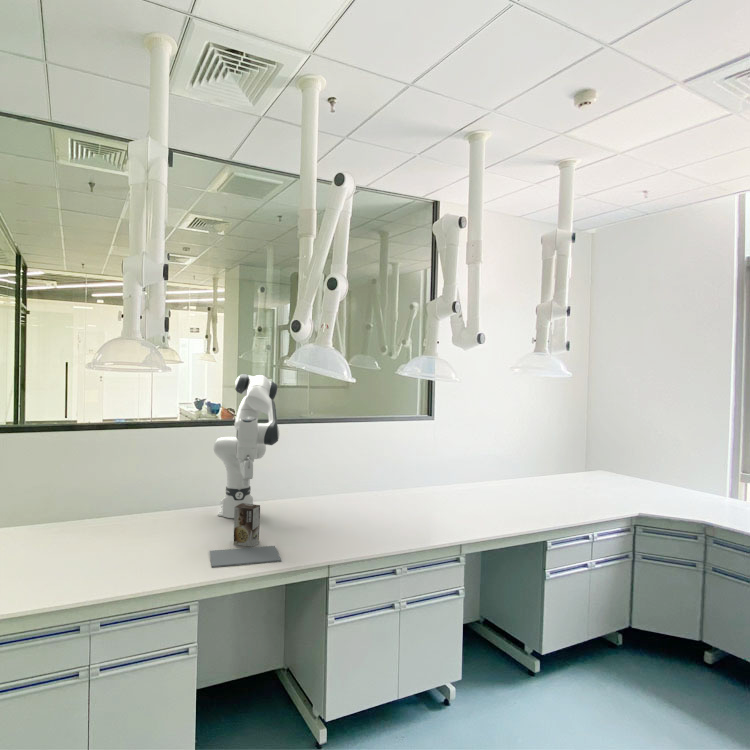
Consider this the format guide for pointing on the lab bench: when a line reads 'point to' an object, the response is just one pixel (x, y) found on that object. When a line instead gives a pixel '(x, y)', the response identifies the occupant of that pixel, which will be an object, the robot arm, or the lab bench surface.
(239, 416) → the robot arm
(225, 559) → the mat
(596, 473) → the lab bench surface
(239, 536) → the coffee box
